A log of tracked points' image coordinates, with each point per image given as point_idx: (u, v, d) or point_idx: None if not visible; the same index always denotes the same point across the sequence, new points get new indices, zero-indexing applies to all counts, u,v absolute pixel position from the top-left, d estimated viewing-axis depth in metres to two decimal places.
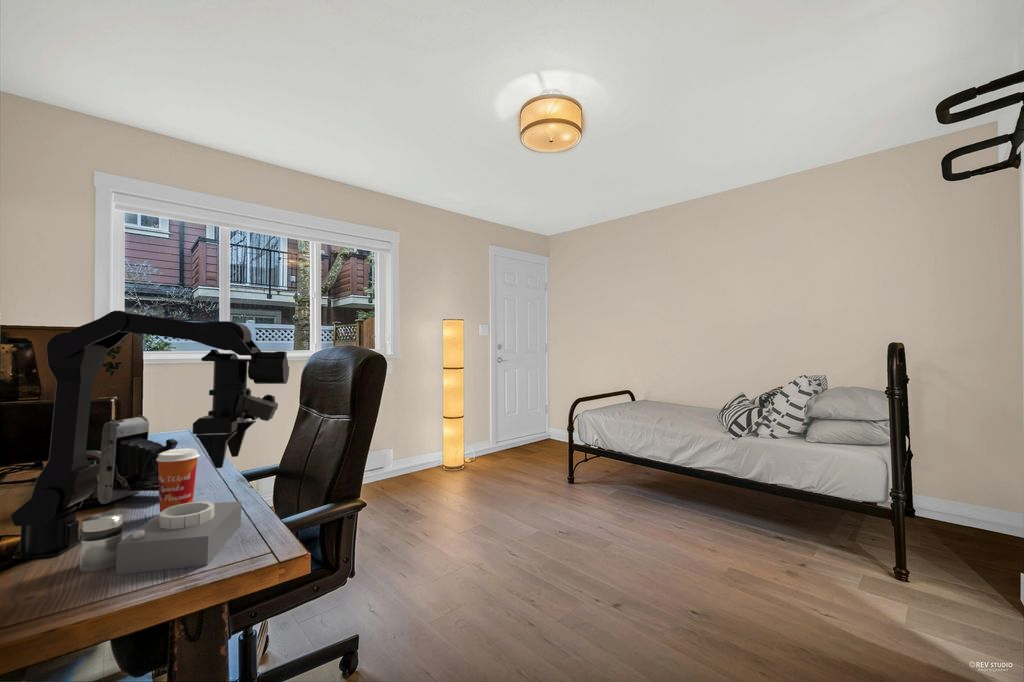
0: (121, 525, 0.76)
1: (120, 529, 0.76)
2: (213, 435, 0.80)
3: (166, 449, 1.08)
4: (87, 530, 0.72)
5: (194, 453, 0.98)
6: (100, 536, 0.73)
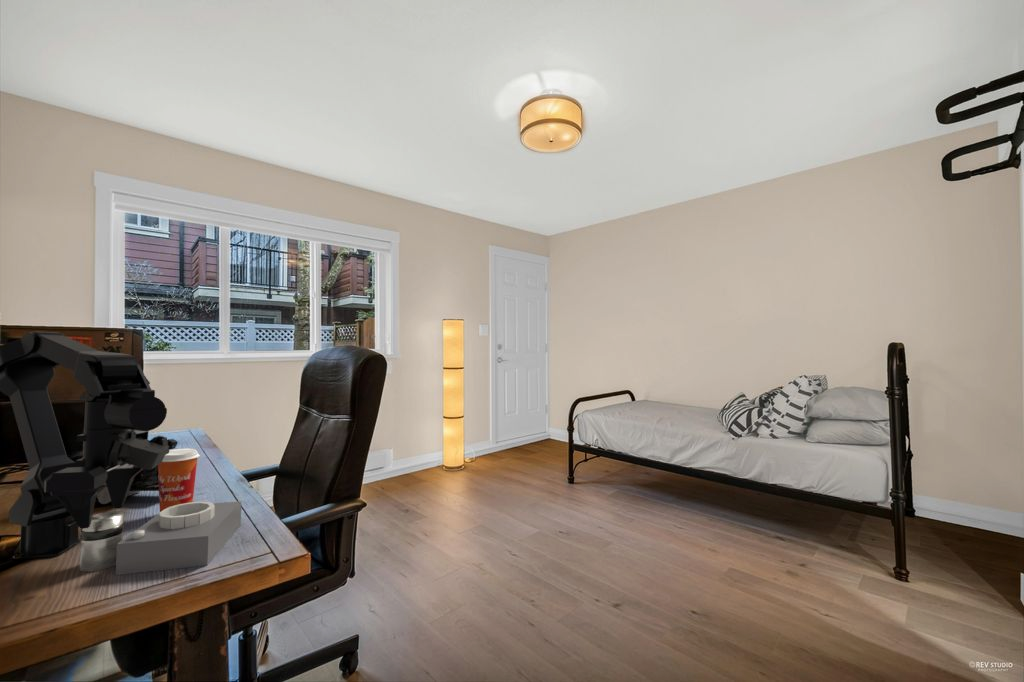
0: (121, 525, 0.76)
1: (121, 529, 0.76)
2: (72, 492, 0.67)
3: None
4: (87, 530, 0.72)
5: (194, 453, 0.98)
6: (100, 536, 0.73)
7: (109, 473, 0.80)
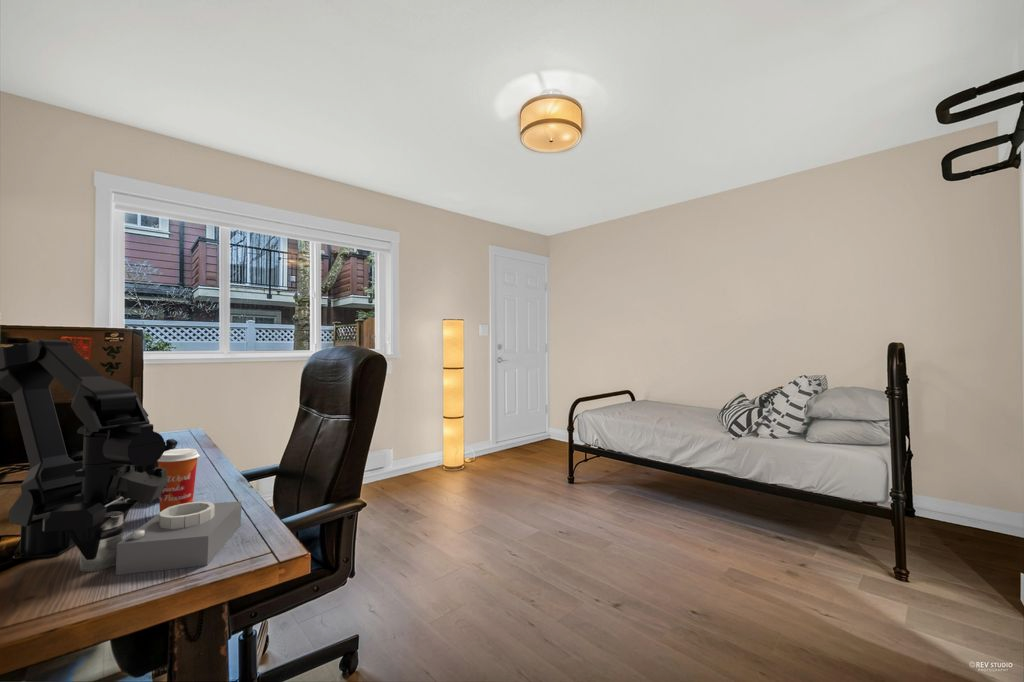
0: (122, 525, 0.76)
1: (121, 529, 0.76)
2: None
3: (166, 449, 1.08)
4: None
5: (194, 453, 0.98)
6: (100, 536, 0.73)
7: None
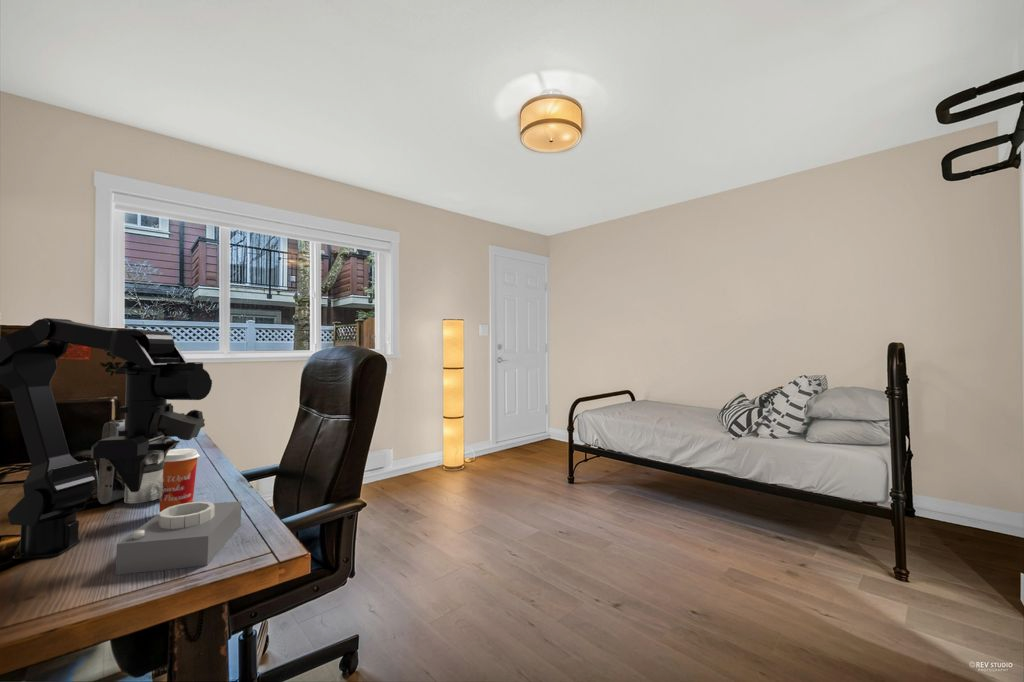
0: (162, 462, 0.79)
1: (161, 466, 0.79)
2: (124, 456, 0.72)
3: None
4: None
5: (194, 453, 0.98)
6: (143, 470, 0.76)
7: None
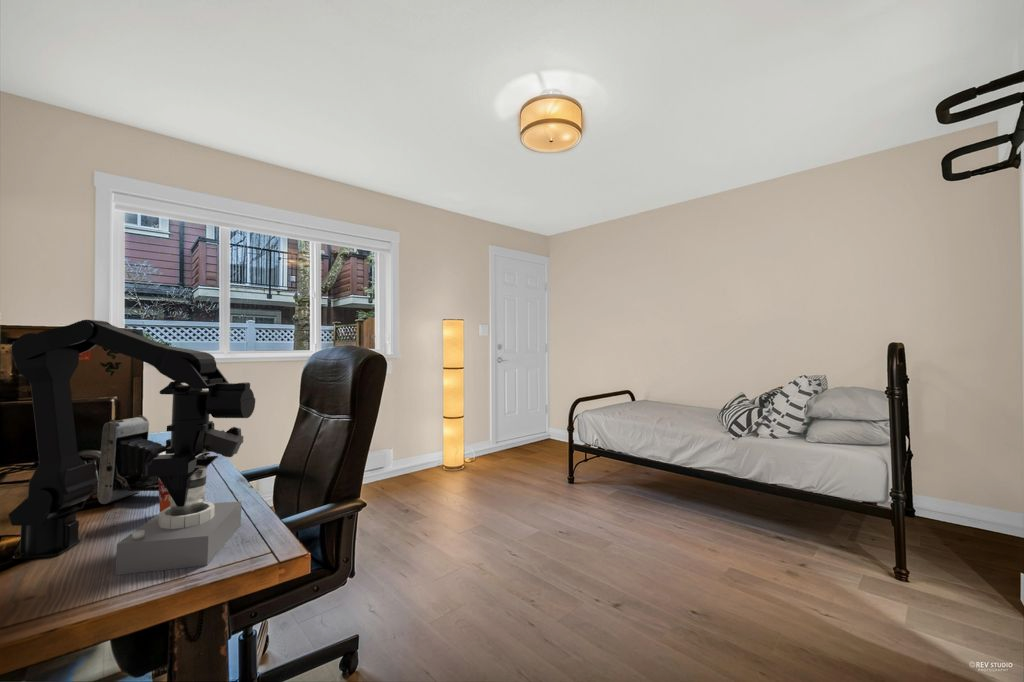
0: (205, 477, 0.83)
1: (204, 481, 0.83)
2: None
3: None
4: None
5: None
6: (189, 485, 0.80)
7: None
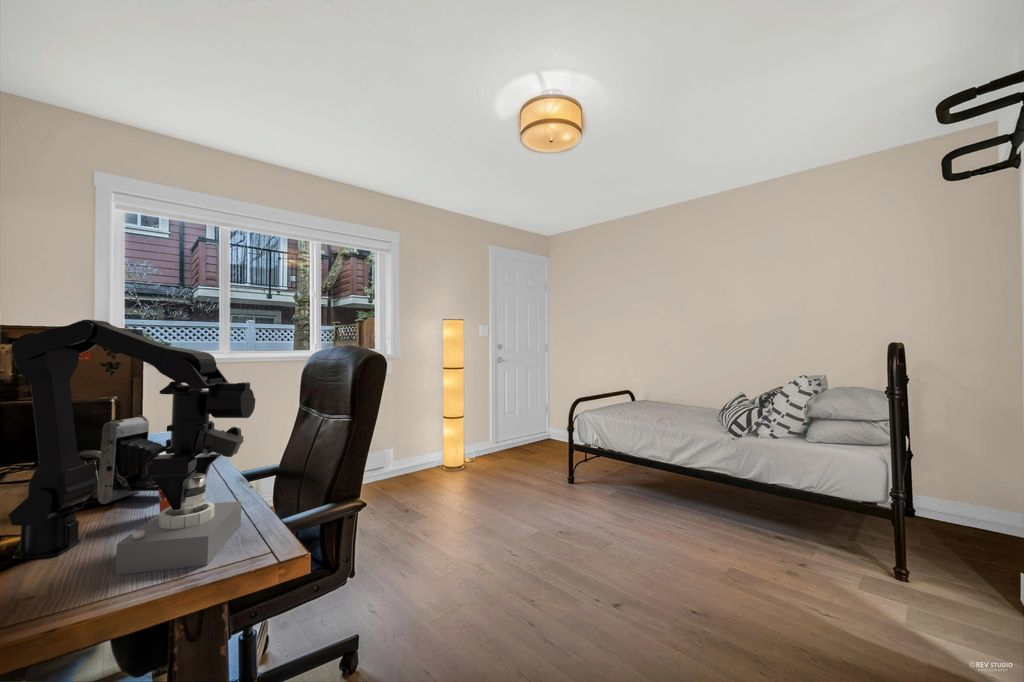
0: (204, 485, 0.83)
1: (204, 489, 0.83)
2: (169, 476, 0.75)
3: None
4: None
5: None
6: (188, 493, 0.80)
7: None
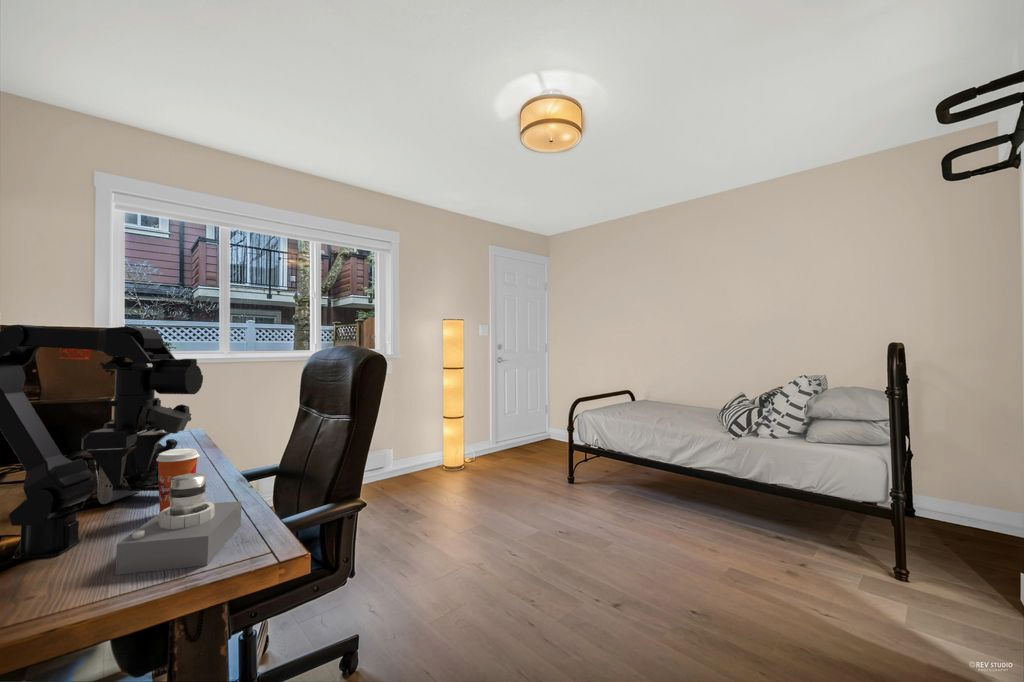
0: (204, 485, 0.83)
1: (204, 488, 0.83)
2: (106, 450, 0.74)
3: (166, 449, 1.08)
4: (177, 488, 0.79)
5: (194, 453, 0.98)
6: (188, 493, 0.80)
7: None
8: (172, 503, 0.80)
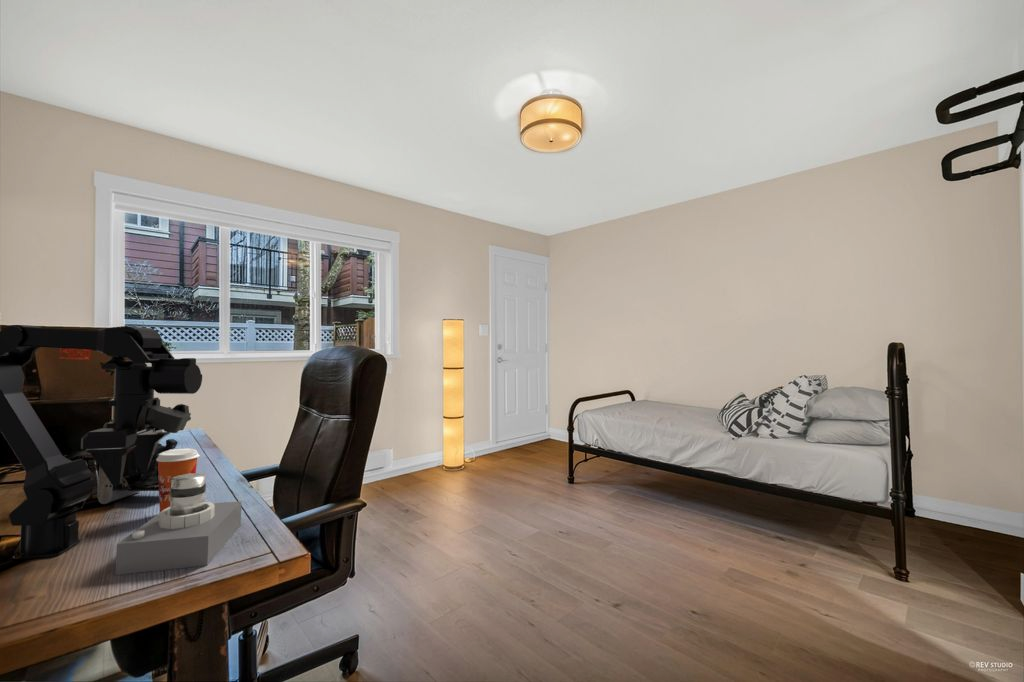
0: (204, 485, 0.83)
1: (204, 488, 0.83)
2: (106, 450, 0.74)
3: (166, 449, 1.08)
4: (177, 487, 0.79)
5: (194, 453, 0.98)
6: (188, 493, 0.80)
7: (135, 438, 0.86)
8: (172, 503, 0.80)
